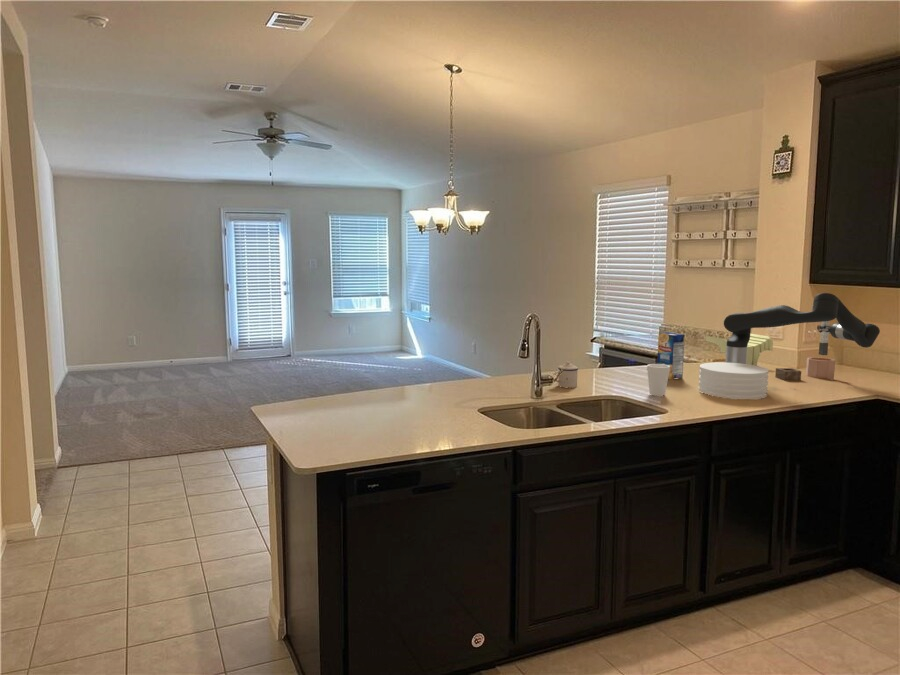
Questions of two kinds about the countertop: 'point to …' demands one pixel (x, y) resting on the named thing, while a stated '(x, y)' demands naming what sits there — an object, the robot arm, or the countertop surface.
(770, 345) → the slatted curved stool
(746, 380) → the plate stack
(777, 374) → the tong rest
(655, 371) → the foam cup
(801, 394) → the countertop surface
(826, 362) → the utensil crock
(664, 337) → the beverage box
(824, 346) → the tongs
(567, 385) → the teacup with lid
